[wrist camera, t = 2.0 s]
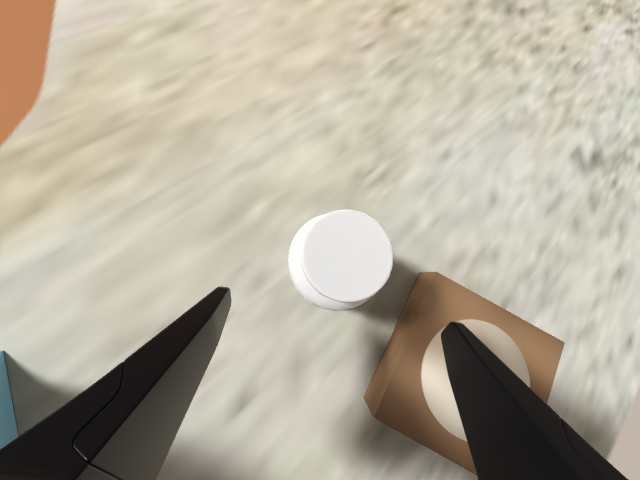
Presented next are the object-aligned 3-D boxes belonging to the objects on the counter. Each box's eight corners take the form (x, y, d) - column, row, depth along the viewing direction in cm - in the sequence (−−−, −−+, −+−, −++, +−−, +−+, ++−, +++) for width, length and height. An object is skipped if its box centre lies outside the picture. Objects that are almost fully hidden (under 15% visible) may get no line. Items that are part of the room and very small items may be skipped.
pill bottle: (359, 240, 20) (415, 203, 10) (352, 303, 19) (407, 330, 9) (298, 230, 19) (295, 183, 10) (288, 294, 18) (273, 312, 9)
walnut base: (488, 467, 17) (521, 501, 15) (363, 397, 17) (374, 419, 15) (531, 334, 19) (567, 343, 17) (419, 272, 20) (438, 271, 17)
